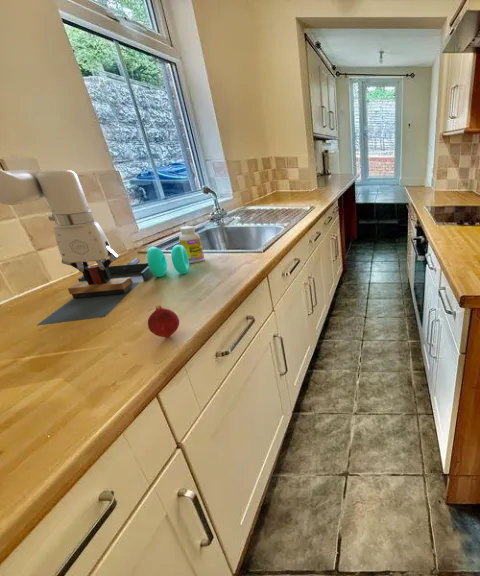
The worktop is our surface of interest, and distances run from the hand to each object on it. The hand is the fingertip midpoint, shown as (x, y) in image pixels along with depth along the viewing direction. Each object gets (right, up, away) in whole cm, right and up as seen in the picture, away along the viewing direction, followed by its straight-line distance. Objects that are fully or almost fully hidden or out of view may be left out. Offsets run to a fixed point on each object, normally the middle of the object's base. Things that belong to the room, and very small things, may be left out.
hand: (99, 281), depth 92 cm
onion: (+33, -13, -20) cm, 41 cm away
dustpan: (-5, +3, +16) cm, 18 cm away
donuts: (+11, +3, +16) cm, 20 cm away
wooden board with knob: (0, -3, +1) cm, 4 cm away
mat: (+2, -6, -3) cm, 7 cm away
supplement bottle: (+10, +9, +29) cm, 32 cm away
